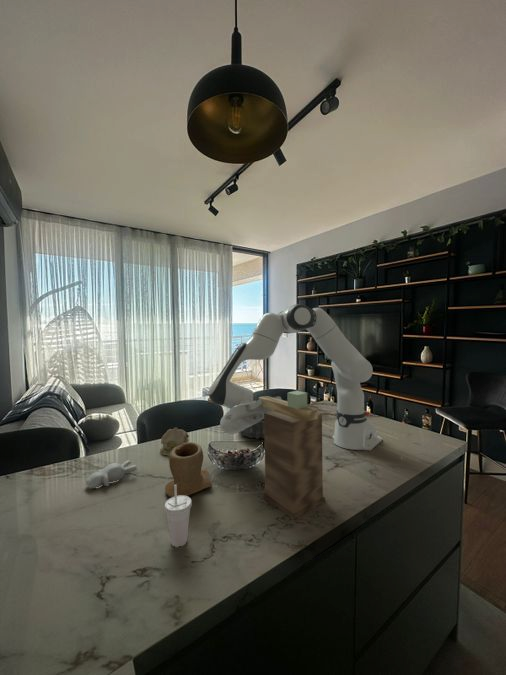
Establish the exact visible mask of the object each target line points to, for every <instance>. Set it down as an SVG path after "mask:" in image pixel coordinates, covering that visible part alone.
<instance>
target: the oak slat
mask: <svg viewBox="0 0 506 675" xmlns="http://www.w3.org/2000/svg"><path fill="white" fill-rule="evenodd" d="M273 397H274V396H273ZM273 397H272V396H268V395H264V396H259V397H258V400H262V402H263V405H262V406H264V407H267V408H270V409H273V410H276V411H279V412H282V413H285V414H288V415H291V416H294V417H297V418H300V419H304V420H307V421H311V420H315V419H318V413H319V412H318V409H316V408H313V407H309V406H307V407H304V408H300V409H295V408H292V407H288V400H283V399H282V400H280V399H277V398H273Z"/></svg>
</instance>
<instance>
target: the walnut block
mask: <svg viewBox="0 0 506 675" xmlns="http://www.w3.org/2000/svg"><path fill="white" fill-rule="evenodd" d="M317 413H318V419H315V420H311V421H307V420H304V419H300V418H297V417H294V416H291V415H288V414H285V413H282V412H279V411H276V410H273V411H269V412H265V413H264V436H265V438H264V479H265V480H264V483H265V488H264V489H265V490H264V491H265V492H264V493H263V494H262V498H263V499H264V500H266V501H267V502H269V503H271V505H273V506H275V507H276V508H278V509H279V510H280V511H281V512H283V513H284V514H285V515H287V516H288V517H289V518H291V519H293V520H295V519H297V518H299V517H300V516H302V515H304V514H306V513H308V512H309V511H310V510H312V509H314V508H317V507H318V506H320V505H321V504H323V503H324V502H326V497H325V496H324V494H323V492H324V491H323V490H324V488H323V481H324V480H323V414H322V413H320V412H317Z"/></svg>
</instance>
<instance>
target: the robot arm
mask: <svg viewBox="0 0 506 675" xmlns="http://www.w3.org/2000/svg"><path fill="white" fill-rule="evenodd" d="M304 330H306V331H307V332H309V333H310V336H311V337H312V338H313V339H314V341H315V342H316V344H317V345H318V346H319V348H320V349H321V351H323V353H324V354H325V356H327V357H328V358H329V359H330V361H331V364H330V365H331V366H330V367H331V369H332V372H333V375H334V376H333V377H334V382H335V387H336V392H337V393H336V394H337V395H336V396H337V398H336V399H337V402H336V403H337V410H336V414H335V415H336V420H335V422H334V433H333V435H332V439H333V442H334V444H335V445H337V446H338V447H340V448H342V449H345V450H346V449H347V450H353V451H354V450H357V451H361V450H363V451H372V450H373V449H374V448H375V447H377V446H378V445H379V443H381V442H382V441H383V437H381V436H380V435H377V429H376V426H374V424H372V423H371V422H370V421H369V420H368V418H367V417H369V416H371V415H370V414H371V411H368V410H365V394H364V391H363V389H362V386H361V383H365V382H367V381H369V380H370V379H371V377H372V376H373V366H372V364H371V362H370V361H369V360H367V359H366V358H365V356H363V355H362V354H361V353H360V352H359V350H358V349H357V348H356V347H355V346H354V345H353V344H352V343H351V342H350V341H349V340H348V339H347V337H346V336H345V334H344V333H343V332H342V331H341V329H340V328H339V326H338V325H337V324H336V323H335V321H334V320H333V318H332V317H331V316H330V315H329V314H328V313H327V312H326V310H324V308H321V307H313V308H310V307H309V306H307V305H305V304H302V303H295V304H293V305H290V306H288V307H286V308H285V309H283V310H282V311H280V312H278V314H277V313H274V312H266V313H264V314H262V316H261V318H260V319H259V321H258V322H257V324H256V326H255V328H254V330H253V332H252V334H251V336H250V338H249V339H248V340H247V341H246V342H241V343H240V344H239V345H238V346H237V347H236V349H235V350H234V351H233V353H232V355H231V356H230V357H229V359H228V360H227V362H226V364H225V365H224V367H223V368H222V370H221V371H220V373H219V374H218V376H217V377H216V378H215V380H214V381H213V382H212V384H211V385H210V387H209V390H208V397H209V399H210V401H211V403H212V404H214V405H217V406H222V407H225V408H228V409H229V410H228V411H227V412H226V413H225V414H224V415H223V416H222V417H221V419H220V423H219V424H220V428H221V429H222V431H223V432H224V433H227V434H229V435H235V434H238V433H239V434H240V432H241V431H243V430H244V429H245V428H248V427H250V426H252V425H254V424H256V423H258V422H259V421H261V420H263V419H264V413H265V412H269V411H273V409H270V408H267V407H264V406H262V405H263V402H262V400H259V399H258V400H256V396H255V392H253V390H252V389H250V388H247V387H245V386H243V385H240V384H237V383H235V382H232V381H231V380H232V378H233V376H234V374H235V373H236V371H237V369H238V368H239V366H241V364H242V363H243V362H244V361H249V360H254V361H255V360H258V361H261V360H266V359H269V358H270V357H272V356H273V354H274V353H275V351H276V349H277V346H278V344H279V341H280V339H281V337H282V334H296V333H299V332H300V331H304ZM273 398H277V399H280V400H283V399H282V397H281V396H279V395H278V396H273Z"/></svg>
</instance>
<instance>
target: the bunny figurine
mask: <svg viewBox="0 0 506 675" xmlns="http://www.w3.org/2000/svg"><path fill="white" fill-rule="evenodd" d="M130 464H131V460H130V459H127V460H126V461H124V462H122V463H121V464H120V463H117V462H112V463H110V464H108V465H106V466H105V467H104V468H101V469H98V470H96V471H95V472H93V473H92V474H90V475H89V477H88V478H87V479H86V480H85V483H86V486H87V487H88V488H89V489H94V488H96V487H99V486H101V485H103V486H105V487H109V486H110V483H109V482H113V481H117V480H119V481H121V480H122V479H123V478H124V475H125V473H129V472H130V473H131V472H135V471H137V470H138V466H137V464H133V465H130ZM129 465H130V466H129ZM120 479H121V480H120ZM117 482H118V481H117Z"/></svg>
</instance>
